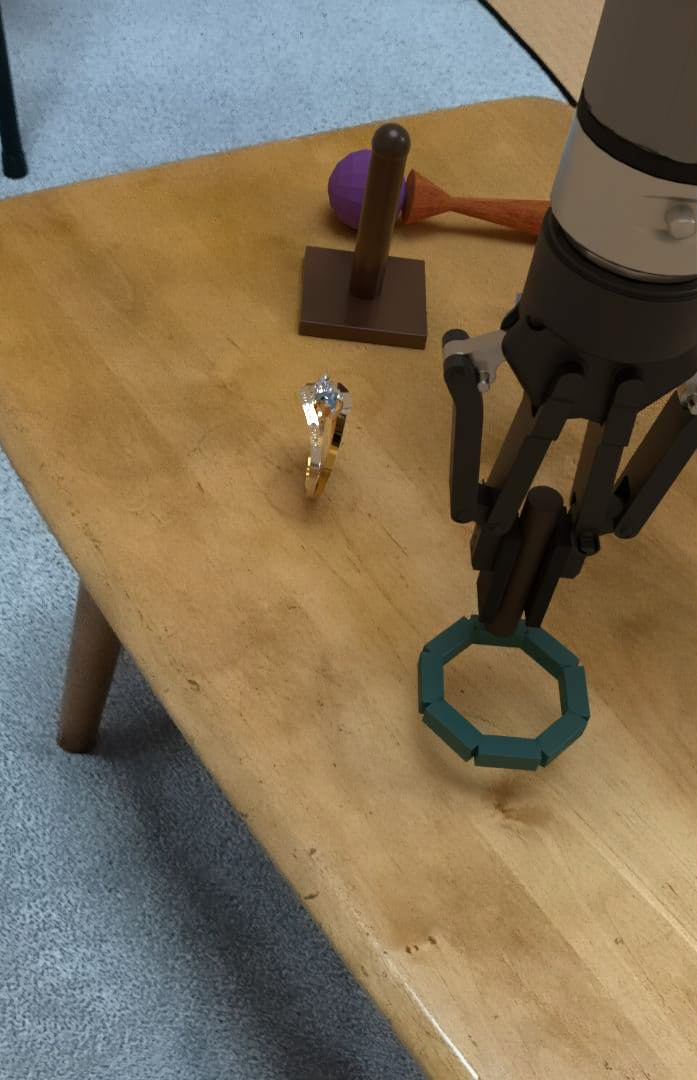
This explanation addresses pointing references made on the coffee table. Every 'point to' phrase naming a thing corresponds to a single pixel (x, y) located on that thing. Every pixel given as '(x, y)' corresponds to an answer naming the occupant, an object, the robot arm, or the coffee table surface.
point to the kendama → (426, 199)
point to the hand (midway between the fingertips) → (507, 604)
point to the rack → (369, 265)
